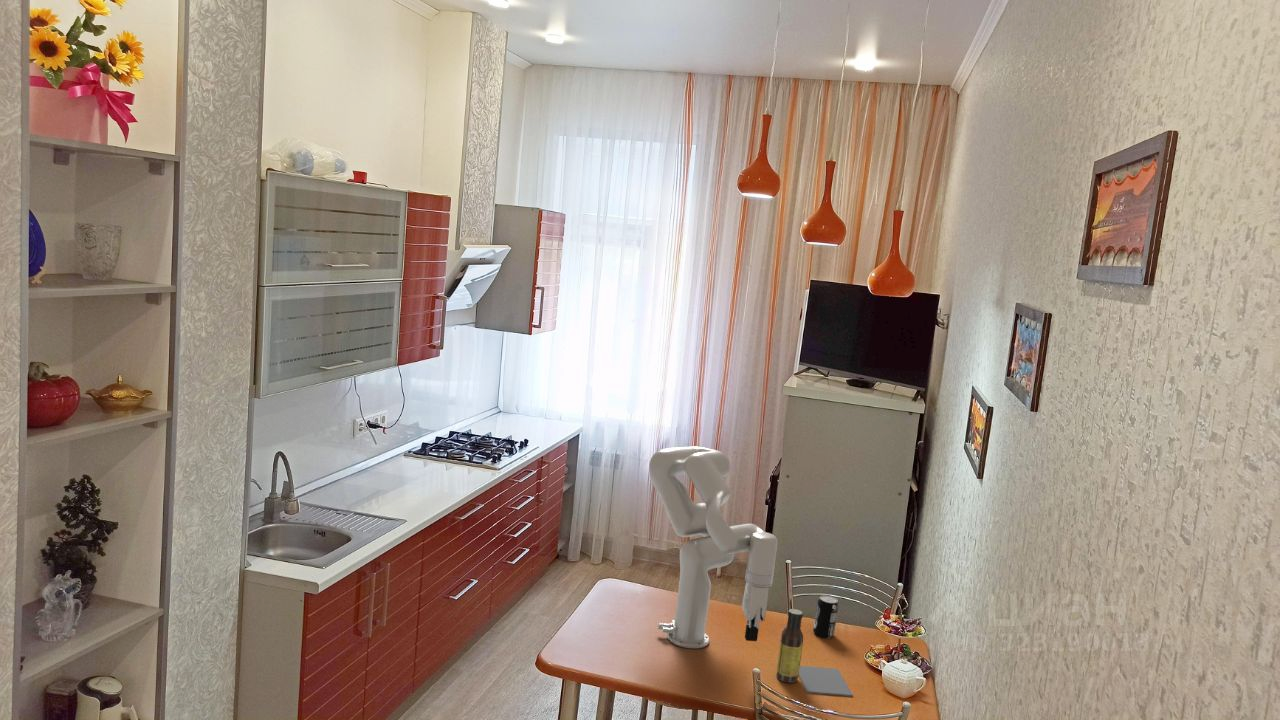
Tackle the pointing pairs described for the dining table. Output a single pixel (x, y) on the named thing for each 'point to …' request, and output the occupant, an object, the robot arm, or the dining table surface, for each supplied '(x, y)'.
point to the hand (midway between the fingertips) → (750, 639)
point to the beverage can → (826, 616)
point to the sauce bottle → (790, 648)
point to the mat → (823, 681)
